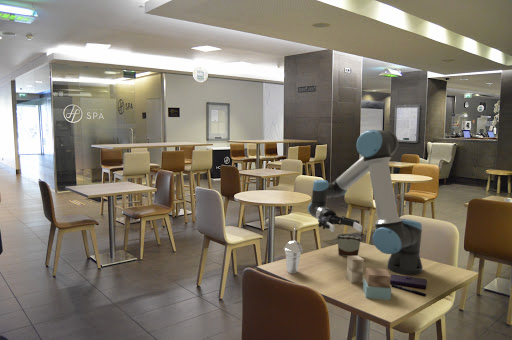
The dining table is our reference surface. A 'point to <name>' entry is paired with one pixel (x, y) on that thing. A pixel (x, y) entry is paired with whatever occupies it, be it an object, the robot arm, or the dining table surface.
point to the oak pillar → (354, 269)
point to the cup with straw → (293, 254)
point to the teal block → (376, 292)
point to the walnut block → (377, 277)
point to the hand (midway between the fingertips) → (347, 229)
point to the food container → (348, 244)
